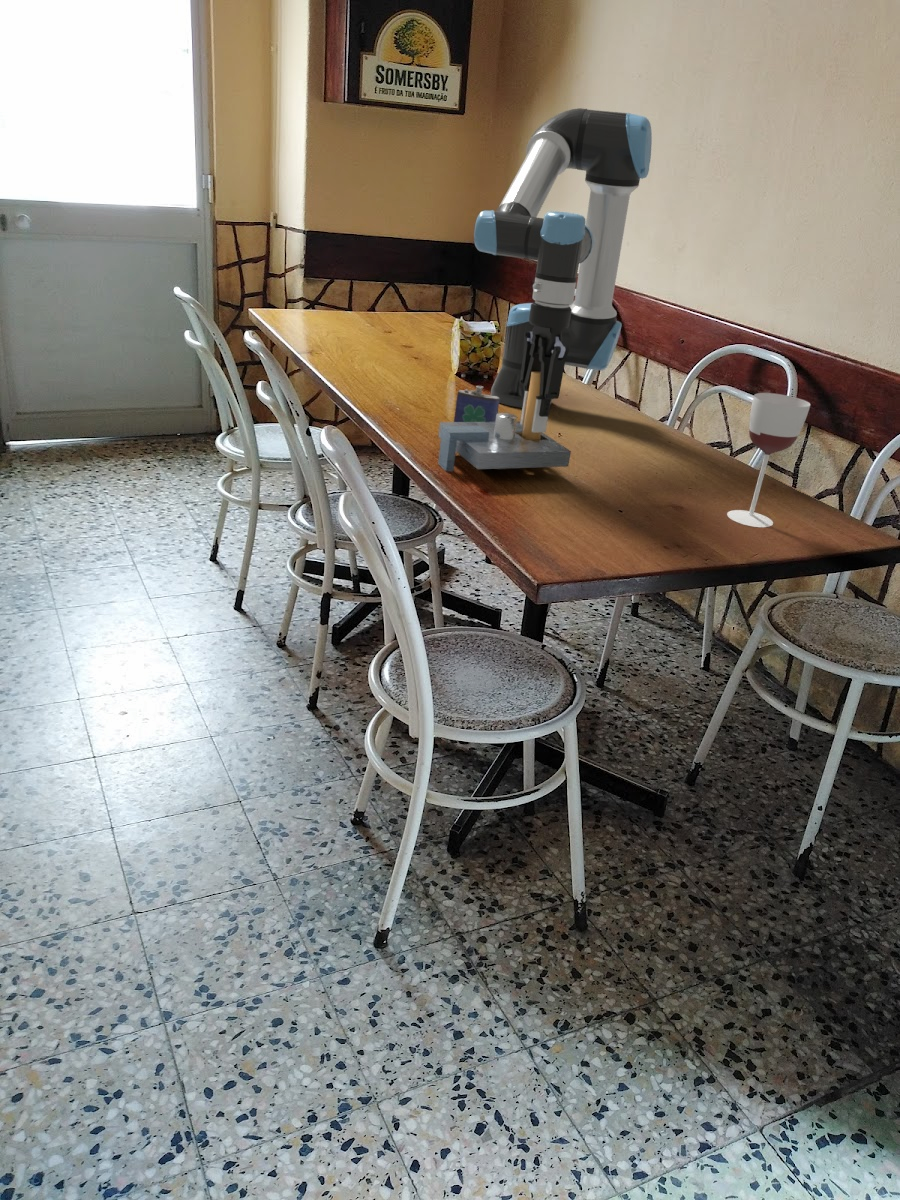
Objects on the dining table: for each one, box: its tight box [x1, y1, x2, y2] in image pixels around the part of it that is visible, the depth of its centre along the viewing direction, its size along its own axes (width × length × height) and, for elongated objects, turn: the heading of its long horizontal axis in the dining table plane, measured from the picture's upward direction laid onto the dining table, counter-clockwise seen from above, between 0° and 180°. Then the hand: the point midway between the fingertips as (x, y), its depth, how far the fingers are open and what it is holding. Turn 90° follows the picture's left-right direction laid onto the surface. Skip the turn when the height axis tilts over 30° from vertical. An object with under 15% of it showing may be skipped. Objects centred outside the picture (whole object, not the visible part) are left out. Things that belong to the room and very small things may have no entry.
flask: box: [453, 385, 500, 422], centre depth 195 cm, size 9×3×11 cm, turn 74°
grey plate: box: [437, 412, 572, 472], centre depth 178 cm, size 22×19×10 cm
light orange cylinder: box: [522, 371, 541, 440], centre depth 178 cm, size 4×4×16 cm
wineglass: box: [726, 392, 811, 528], centre depth 164 cm, size 9×10×22 cm
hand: (532, 427), depth 179 cm, fingers open, 4 cm apart
